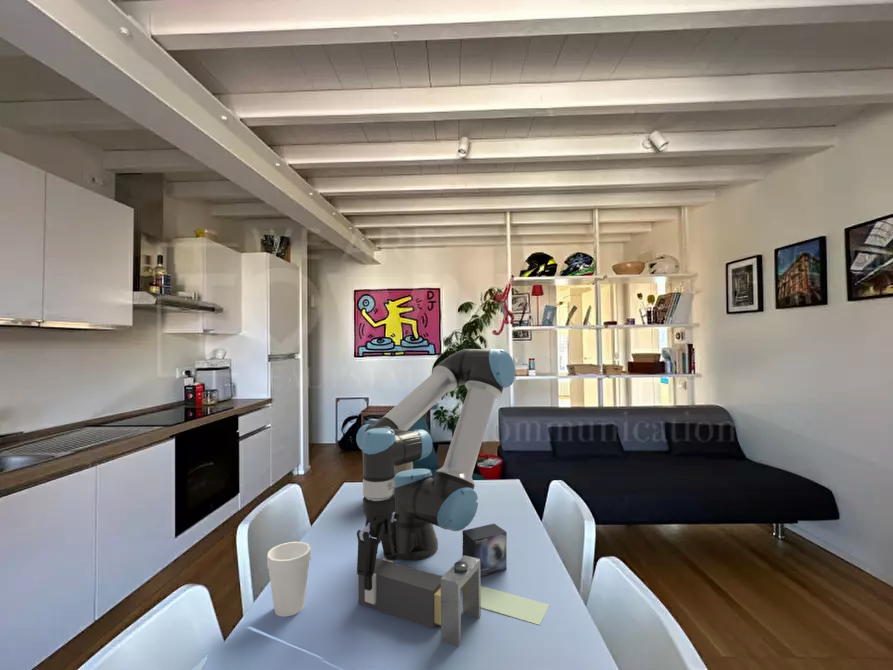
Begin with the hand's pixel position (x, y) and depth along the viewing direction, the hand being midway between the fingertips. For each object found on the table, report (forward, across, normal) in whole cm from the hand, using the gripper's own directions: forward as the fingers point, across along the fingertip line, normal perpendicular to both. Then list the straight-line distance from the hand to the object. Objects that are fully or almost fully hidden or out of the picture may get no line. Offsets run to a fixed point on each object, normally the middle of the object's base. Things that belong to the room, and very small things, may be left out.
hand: (379, 594), depth 102 cm
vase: (+2, +56, +36) cm, 67 cm away
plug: (+2, 0, -6) cm, 6 cm away
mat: (+1, +12, -27) cm, 30 cm away
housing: (+1, 0, -22) cm, 22 cm away
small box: (+2, +24, -16) cm, 29 cm away
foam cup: (+2, -12, +17) cm, 21 cm away
